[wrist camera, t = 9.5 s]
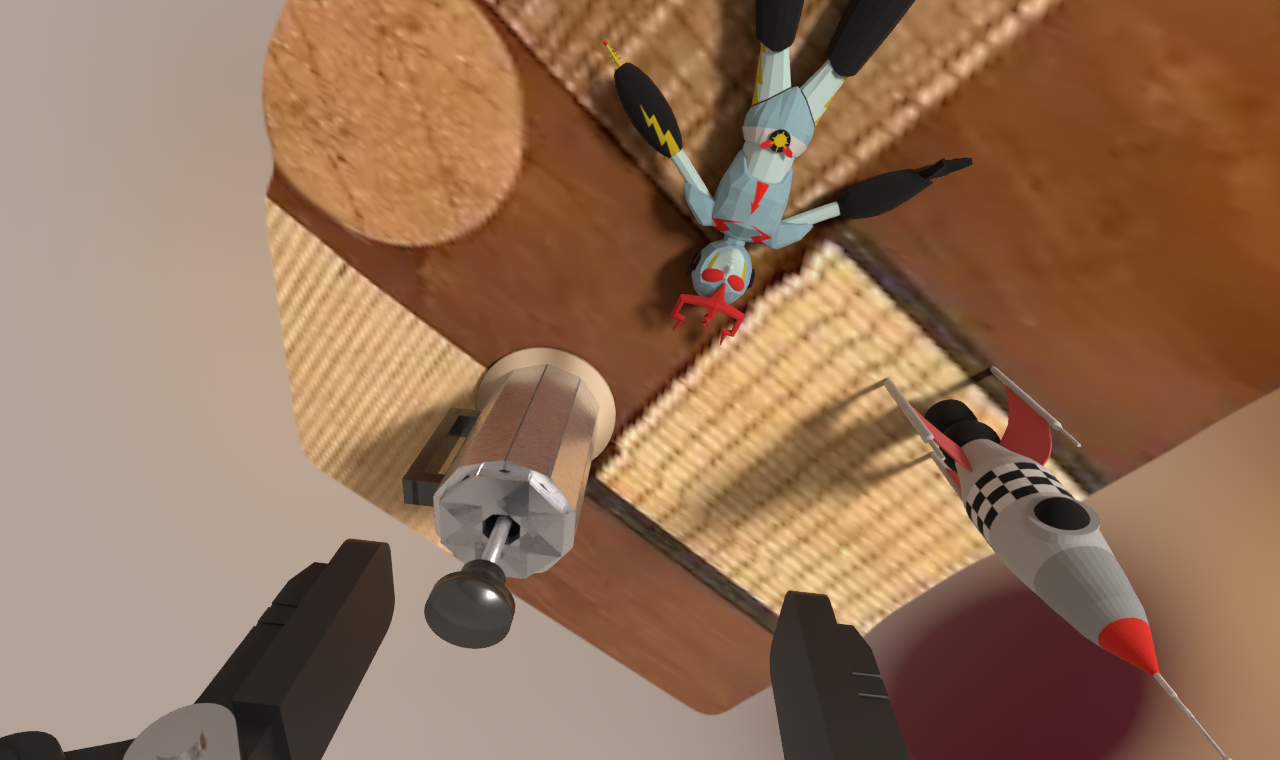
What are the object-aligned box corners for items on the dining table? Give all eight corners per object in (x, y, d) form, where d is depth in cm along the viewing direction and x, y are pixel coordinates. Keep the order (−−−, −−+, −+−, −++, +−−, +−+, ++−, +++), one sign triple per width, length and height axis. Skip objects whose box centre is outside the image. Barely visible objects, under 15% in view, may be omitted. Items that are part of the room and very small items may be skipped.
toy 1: (1132, -68, 32) (874, 419, 43) (1046, -34, 39) (844, 377, 51) (670, -259, 30) (524, 309, 41) (668, -185, 37) (544, 281, 48)
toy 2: (998, 359, 49) (1397, 693, 22) (992, 448, 53) (1331, 830, 26) (882, 376, 50) (1128, 715, 23) (885, 462, 54) (1100, 843, 27)
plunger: (496, 467, 50) (411, 653, 34) (496, 398, 47) (403, 564, 31) (573, 475, 50) (526, 666, 34) (578, 407, 48) (529, 578, 31)
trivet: (478, 460, 56) (476, 464, 55) (476, 338, 50) (474, 341, 50) (609, 475, 56) (609, 479, 55) (621, 355, 50) (621, 358, 50)
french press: (462, 451, 55) (392, 573, 41) (459, 353, 50) (380, 453, 37) (594, 466, 55) (568, 593, 41) (602, 369, 50) (577, 475, 37)
